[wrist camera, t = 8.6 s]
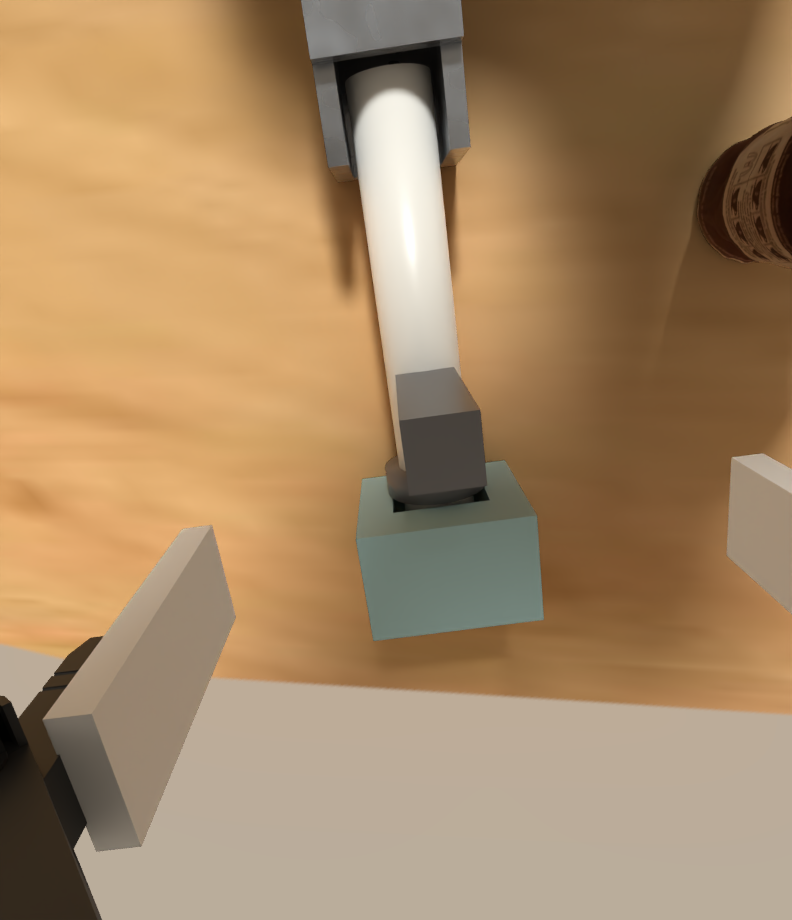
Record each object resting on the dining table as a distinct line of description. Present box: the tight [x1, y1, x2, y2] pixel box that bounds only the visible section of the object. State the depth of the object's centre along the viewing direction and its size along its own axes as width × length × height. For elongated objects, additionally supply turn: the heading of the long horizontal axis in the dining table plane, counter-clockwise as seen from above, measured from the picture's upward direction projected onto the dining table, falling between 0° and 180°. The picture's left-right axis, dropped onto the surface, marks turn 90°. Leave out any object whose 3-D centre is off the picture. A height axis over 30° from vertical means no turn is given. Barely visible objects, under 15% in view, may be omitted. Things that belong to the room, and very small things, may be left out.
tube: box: [345, 63, 487, 511], centre depth 28 cm, size 25×6×14 cm, turn 8°
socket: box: [356, 460, 544, 641], centre depth 35 cm, size 6×9×8 cm, turn 98°
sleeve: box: [301, 0, 471, 183], centre depth 27 cm, size 12×6×7 cm, turn 8°
